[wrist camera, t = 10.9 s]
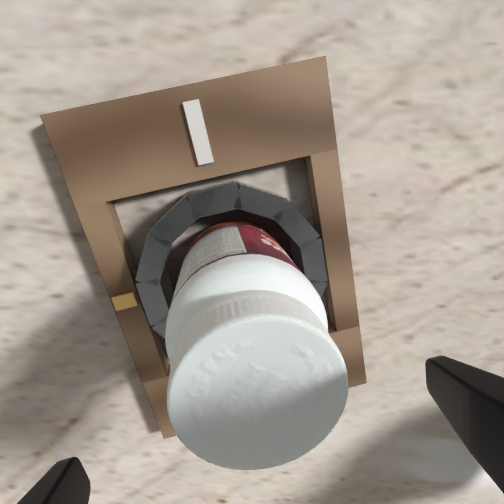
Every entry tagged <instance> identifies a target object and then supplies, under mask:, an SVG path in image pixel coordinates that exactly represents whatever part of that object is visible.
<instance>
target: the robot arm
mask: <svg viewBox="0 0 504 504" xmlns="http://www.w3.org/2000/svg"><path fill="white" fill-rule="evenodd" d="M425 366H426V384H427V388H428V391H429V393H430V395H431V396H432V398H433V399H434V401H435V402H436V403H437V405H438V406H439V408H440V409H441V411H442V412H443V414H444V415H445V417H446V418H447V420H448V421H449V422H450V424H451V425H452V427H453V428H454V430H455V431H456V433H457V434H458V436H459V437H460V439H461V440H462V441H463V443H464V444H465V446H466V447H467V448H468V450H469V451H470V453H471V454H472V455H473V456H474V458H475V459H476V460H477V461H478V463H479V464H480V465H481V466H482V467H483V469H484V470H485V471H486V472H487V474H488V475H489V476H490V477H491V478H492V480H493V481H494V482H495V483H496V485H497V486H498V487H499V488H500V489H501V491H502V492H503V493H504V378H503V377H500V376H498V375H495V374H492V373H489V372H487V371H484V370H481V369H478V368H476V367H473V366H470V365H468V364H465V363H462V362H459V361H457V360H454V359H451V358H448V357H446V356H436V357H433V358H429V359H427V360H426V364H425ZM89 496H90V480H89V478H88V476H87V474H86V472H85V470H84V468H83V466H82V464H81V462H80V460H79V459H78V458H77V457H71V458H67V459H64V460H61V461H58V462H57V463H56V464H55V465H54V466H53V467H52V468H51V469H50V470H49V471H48V472H47V473H46V474H45V475H44V476H43V477H42V478H41V479H40V480H39V481H38V482H37V483H36V484H35V485H34V486H33V487H32V488H31V489H30V491H29V492H28V493H27V494H26V495H25V496H24V497H23V498H22V499H21V500H20V501H19V502H18V503H17V504H88V502H89Z"/></svg>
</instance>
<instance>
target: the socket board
mask: <svg viewBox="0 0 504 504" xmlns="http://www.w3.org/2000/svg"><path fill="white" fill-rule="evenodd" d="M40 117H41V119H42V122H43V125H44V127H45V130H46V132H47V135H48V138H49V140H50V143H51V146H52V148H53V151H54V153H55V156H56V159H57V161H58V164H59V166H60V169H61V172H62V174H63V177H64V179H65V182H66V185H67V187H68V190H69V193H70V195H71V198H72V200H73V203H74V206H75V208H76V211H77V213H78V216H79V219H80V221H81V224H82V226H83V229H84V232H85V234H86V237H87V240H88V242H89V245H90V247H91V250H92V253H93V255H94V258H95V260H96V263H97V266H98V268H99V271H100V273H101V276H102V279H103V281H104V284H105V286H106V289H107V292H108V294H109V297H110V300H111V302H112V305H113V307H114V310H115V313H116V315H117V318H118V320H119V323H120V326H121V328H122V331H123V333H124V336H125V339H126V341H127V344H128V347H129V349H130V352H131V354H132V357H133V360H134V362H135V365H136V367H137V370H138V373H139V375H140V378H141V380H142V383H143V386H144V388H145V391H146V394H147V396H148V399H149V401H150V404H151V407H152V409H153V412H154V414H155V417H156V420H157V422H158V425H159V427H160V430H161V433H162V435H163V438H164V439H165V438H169V437H173V436H176V433H175V431H174V429H173V427H172V425H171V423H170V420H169V416H168V410H167V386H168V380H169V374H170V365H169V363H168V360H167V358H166V355H165V352H164V349H163V346H162V343H161V340H160V337H159V334H160V335H161V336H162V337H163V338H164V339H165V332H166V321H167V316H168V313H169V310H170V306H171V303H172V300H173V296H174V291H173V288H172V284H171V281H170V278H169V275H168V272H167V269H166V265H167V261H168V257H169V253H170V250H171V246H172V243H173V242H174V241H175V240H176V239H177V238H178V237H179V236H180V235H181V234H182V233H183V232H184V231H185V230H186V229H188V228H189V227H190V226H191V225H192V224H193V223H194V222H195V221H196V220H197V219H198V218H201V217H206V216H210V215H214V214H218V213H223V212H227V211H231V210H236V209H240V210H243V211H247V212H250V213H253V214H257V215H260V216H263V217H267V218H270V219H273V220H274V221H275V222H276V223H277V224H278V225H279V226H280V227H281V228H282V230H283V231H284V232H285V233H286V234H287V235H288V236H289V239H290V244H291V250H292V255H293V261H294V264H295V265H296V266H297V267H298V268H299V269H300V271H301V272H302V273H303V274H304V275H305V276H306V277H307V278H308V280H309V281H310V282H311V284H312V285H313V287H314V288H315V290H316V291H317V293H318V294H319V296H320V298H322V296H323V293H324V291H325V292H326V299H327V305H328V311H329V318H330V323H328V333H329V335H330V337H331V338H332V340H333V341H334V343H335V344H336V346H337V347H338V349H339V351H340V353H341V355H342V357H343V359H344V362H345V365H346V369H347V374H348V388H350V387H354V386H357V385H361V384H364V383H367V382H366V374H365V366H364V358H363V350H362V342H361V334H360V326H359V318H358V310H357V302H356V294H355V287H354V279H353V271H352V263H351V255H350V247H349V239H348V231H347V223H346V215H345V207H344V199H343V191H342V183H341V175H340V167H339V159H338V151H337V143H336V135H335V127H334V119H333V111H332V103H331V95H330V87H329V79H328V71H327V63H326V56H322V57H318V58H313V59H308V60H303V61H298V62H294V63H289V64H284V65H279V66H274V67H269V68H265V69H260V70H255V71H250V72H245V73H241V74H236V75H231V76H226V77H221V78H216V79H212V80H207V81H202V82H197V83H192V84H188V85H183V86H178V87H173V88H168V89H164V90H159V91H154V92H149V93H144V94H139V95H135V96H130V97H125V98H120V99H115V100H111V101H106V102H101V103H96V104H91V105H86V106H82V107H77V108H72V109H67V110H62V111H58V112H53V113H48V114H43V115H40ZM301 157H304V158H305V164H306V171H307V177H308V183H309V190H310V196H311V203H312V209H313V215H314V222H315V228H316V230H315V229H314V228H313V227H312V226H311V225H310V223H309V222H308V221H307V220H306V219H305V218H304V216H303V215H302V214H301V213H300V212H299V211H298V209H297V208H296V207H295V206H294V205H293V204H292V202H291V201H289V200H287V199H286V198H284V197H282V196H280V195H278V194H275V193H272V192H269V191H266V190H263V189H260V188H257V187H254V186H251V185H247V184H244V183H241V182H238V181H236V183H235V182H234V181H231V182H227V183H222V184H218V185H214V186H209V187H205V188H200V189H196V190H192V191H190V192H189V193H188V192H187V193H186V194H185V195H184V196H183V197H182V198H181V199H180V200H179V201H178V202H177V203H176V204H175V205H174V206H173V207H172V208H171V209H170V210H169V211H168V212H167V213H165V214H164V215H163V216H162V217H161V218H160V219H159V220H158V221H157V222H156V223H155V224H154V226H153V227H152V228H151V229H150V230H149V231H148V234H147V235H146V238H145V243H144V247H143V251H142V255H141V259H140V263H139V267H138V271H136V268H135V265H134V262H133V259H132V256H131V253H130V250H129V247H128V245H127V242H126V239H125V236H124V233H123V230H122V227H121V224H120V221H119V219H118V216H117V213H116V210H115V207H114V204H113V201H112V200H116V199H120V198H125V197H129V196H133V195H138V194H142V193H147V192H151V191H155V190H160V189H164V188H169V187H173V186H177V185H182V184H186V183H191V182H195V181H200V180H204V179H208V178H213V177H217V176H222V175H226V174H230V173H235V172H239V171H244V170H248V169H252V168H257V167H261V166H266V165H270V164H274V163H279V162H283V161H288V160H292V159H296V158H301Z"/></svg>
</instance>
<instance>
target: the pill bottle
mask: <svg viewBox="0 0 504 504" xmlns="http://www.w3.org/2000/svg"><path fill="white" fill-rule="evenodd" d="M165 342H166V350H167V354H168V358H169V361H170V374H169V380H168V386H167V410H168V416H169V420H170V423H171V425H172V427H173V429H174V431H175V433H176V435H177V436H178V438H179V439H180V440H181V442H182V443H183V444H184V445H185V446H186V447H187V448H188V449H189V450H190V451H192V452H193V453H194V454H196V455H197V456H198V457H200V458H202V459H204V460H206V461H207V462H209V463H213V464H215V465H218V466H221V467H225V468H231V469H238V470H256V469H265V468H271V467H275V466H279V465H282V464H285V463H287V462H290V461H292V460H295V459H297V458H298V457H300V456H302V455H304V454H305V453H307V452H309V451H310V450H312V449H313V448H314V447H316V446H317V445H318V444H319V443H320V442H321V441H323V440H324V439H325V438H326V436H327V435H328V434H329V433H330V432H331V430H332V429H333V428H334V426H335V425H336V423H337V422H338V420H339V418H340V416H341V414H342V412H343V410H344V407H345V404H346V400H347V395H348V374H347V369H346V365H345V362H344V359H343V357H342V355H341V353H340V351H339V349H338V347H337V346H336V344H335V343H334V341H333V340H332V338H331V337H330V335H329V333H328V322H327V316H326V311H325V308H324V305H323V303H322V300H321V298H320V296H319V294H318V293H317V291H316V290H315V288H314V287H313V285H312V284H311V282H310V281H309V280H308V278H307V277H306V276H305V275H304V274H303V273H302V272H301V271H300V269H299V268H298V267H297V266H296V265H295V264H294V262H293V261H292V260H291V258H290V257H289V256H288V254H287V253H286V252H285V251H284V250H283V248H282V247H281V246H280V245H279V244H278V242H277V241H276V240H275V239H274V238H273V236H271V235H270V234H269V233H268V232H267V231H266V230H264V229H263V228H261V227H259V226H257V225H255V224H252V223H249V222H244V221H226V222H222V223H218V224H216V225H213V226H211V227H209V228H207V229H206V230H204V231H203V232H202V233H200V234H199V235H198V236H197V237H196V238H195V239H194V241H193V242H192V243H191V245H190V246H189V248H188V250H187V252H186V254H185V257H184V260H183V264H182V267H181V271H180V275H179V278H178V282H177V285H176V289H175V292H174V296H173V300H172V303H171V306H170V310H169V313H168V316H167V321H166V332H165Z"/></svg>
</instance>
